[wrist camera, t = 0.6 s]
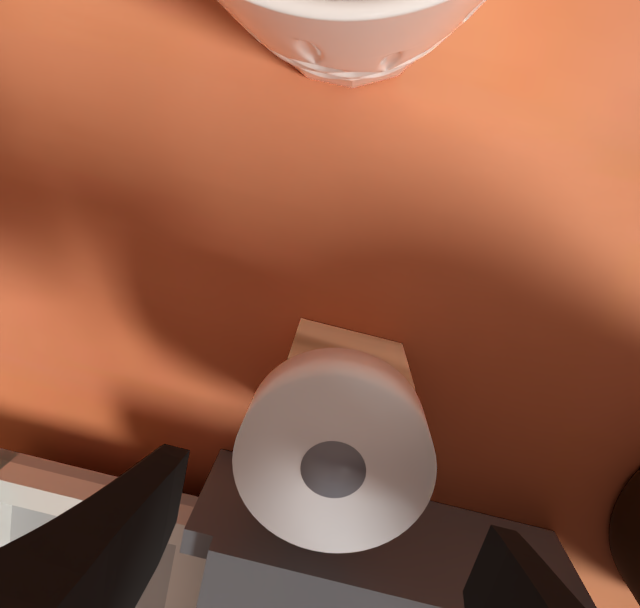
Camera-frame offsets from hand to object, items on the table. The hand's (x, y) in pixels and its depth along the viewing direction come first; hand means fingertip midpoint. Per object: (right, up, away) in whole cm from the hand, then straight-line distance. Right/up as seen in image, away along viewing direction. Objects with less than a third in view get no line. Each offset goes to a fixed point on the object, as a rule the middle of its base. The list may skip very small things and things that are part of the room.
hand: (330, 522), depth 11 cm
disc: (0, +1, +4) cm, 4 cm away
